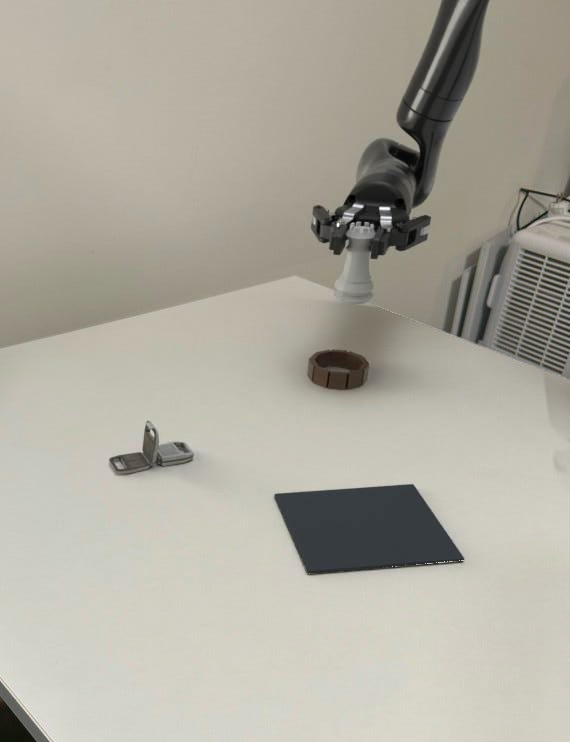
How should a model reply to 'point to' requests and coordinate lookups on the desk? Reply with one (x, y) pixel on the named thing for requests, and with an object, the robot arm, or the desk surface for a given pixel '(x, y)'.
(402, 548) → the mat
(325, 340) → the desk surface
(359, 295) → the rook chess piece
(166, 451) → the strap clip
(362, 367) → the brown segmented bracelet
